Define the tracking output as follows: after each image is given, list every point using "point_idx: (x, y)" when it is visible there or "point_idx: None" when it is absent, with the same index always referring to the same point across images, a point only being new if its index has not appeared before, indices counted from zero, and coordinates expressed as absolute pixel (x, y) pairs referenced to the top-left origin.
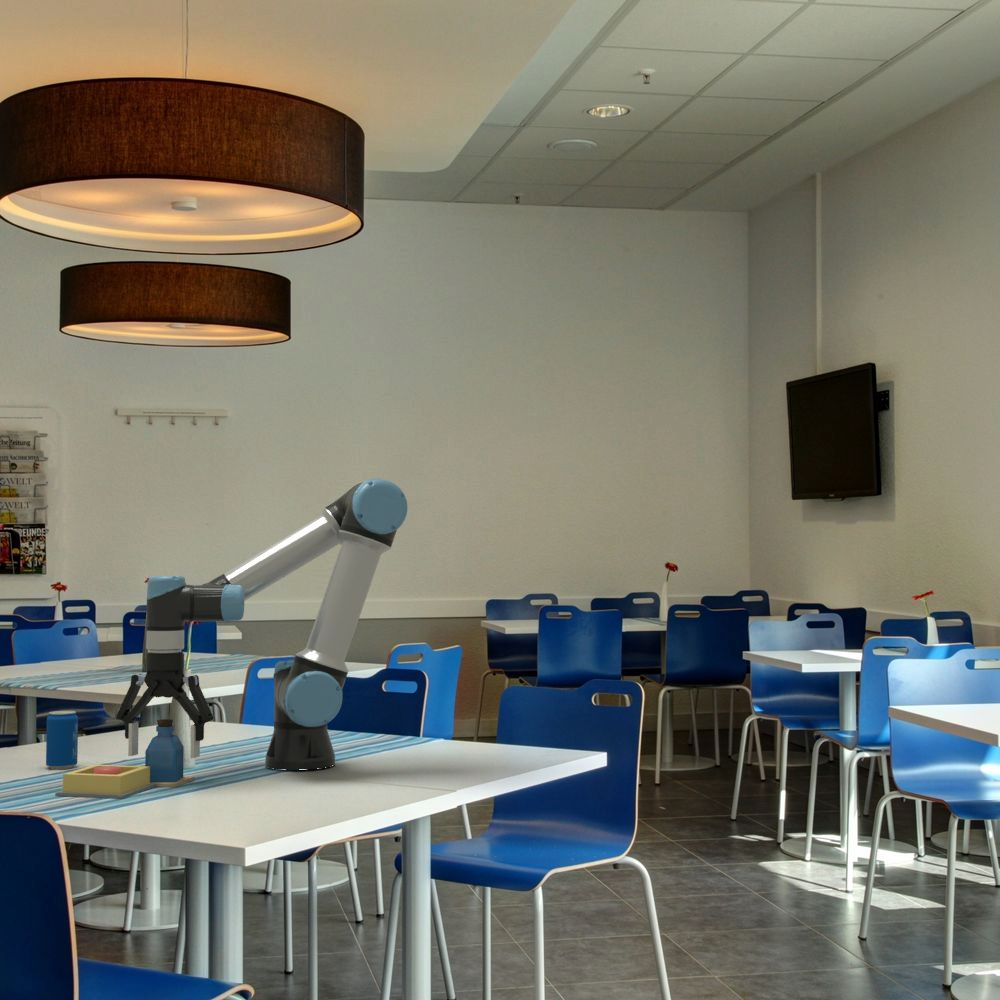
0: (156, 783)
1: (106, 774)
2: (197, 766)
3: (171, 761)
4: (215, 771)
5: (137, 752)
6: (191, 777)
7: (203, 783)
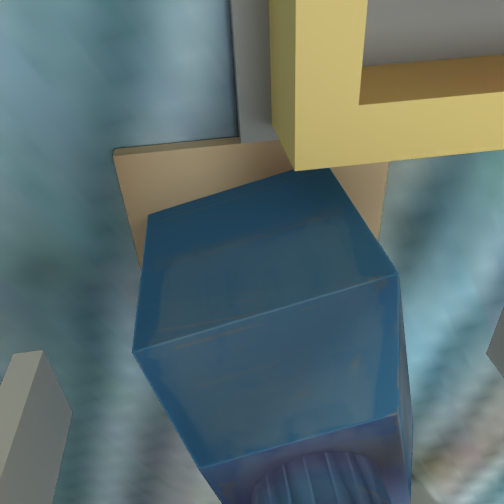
0: (236, 146)
1: None
2: None
3: (173, 284)
4: (198, 474)
5: (494, 357)
6: None
7: (51, 294)
